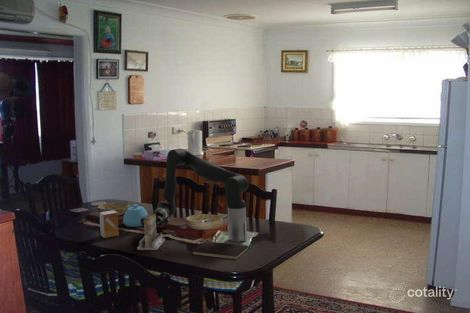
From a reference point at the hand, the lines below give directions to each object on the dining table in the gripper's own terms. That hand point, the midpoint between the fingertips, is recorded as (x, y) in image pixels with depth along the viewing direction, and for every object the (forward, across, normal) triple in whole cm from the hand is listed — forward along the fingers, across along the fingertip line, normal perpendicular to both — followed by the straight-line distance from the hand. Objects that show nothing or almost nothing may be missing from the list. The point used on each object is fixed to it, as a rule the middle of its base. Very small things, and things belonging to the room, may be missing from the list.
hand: (151, 224), depth 270 cm
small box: (-13, -27, +10) cm, 32 cm away
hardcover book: (+12, +37, +11) cm, 40 cm away
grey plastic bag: (+2, 0, +10) cm, 10 cm away
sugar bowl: (-36, -19, +10) cm, 42 cm away
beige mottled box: (+2, 0, +9) cm, 9 cm away
